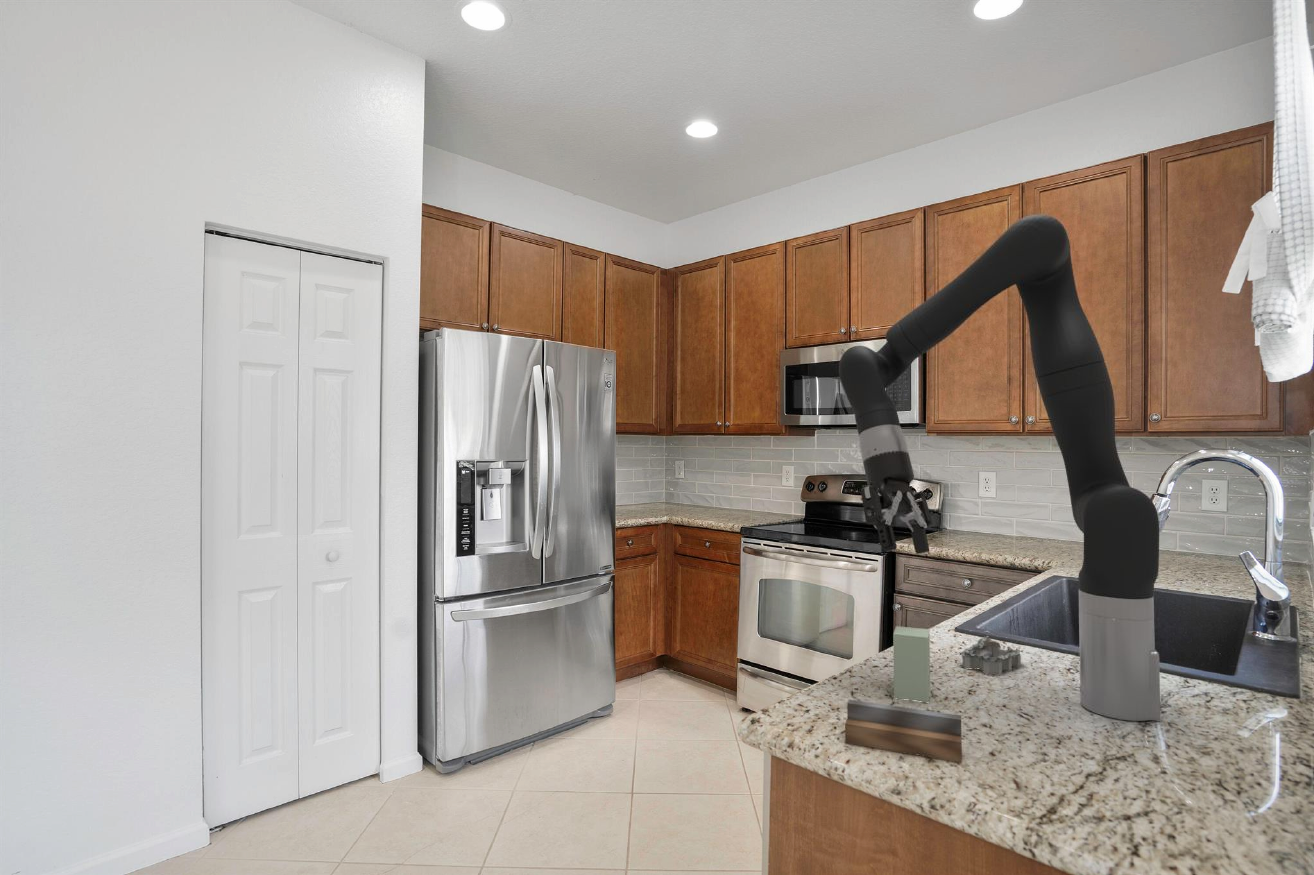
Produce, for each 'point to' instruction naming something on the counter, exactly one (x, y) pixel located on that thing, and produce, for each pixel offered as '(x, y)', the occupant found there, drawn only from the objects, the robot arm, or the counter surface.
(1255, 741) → the counter surface
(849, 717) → the dock
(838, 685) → the counter surface
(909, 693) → the green block
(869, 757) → the counter surface
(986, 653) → the grey scalloped block
